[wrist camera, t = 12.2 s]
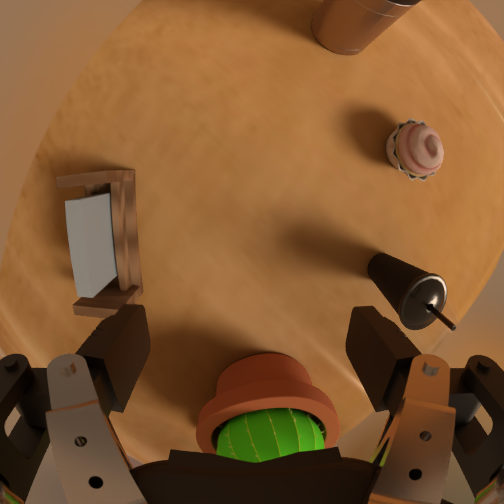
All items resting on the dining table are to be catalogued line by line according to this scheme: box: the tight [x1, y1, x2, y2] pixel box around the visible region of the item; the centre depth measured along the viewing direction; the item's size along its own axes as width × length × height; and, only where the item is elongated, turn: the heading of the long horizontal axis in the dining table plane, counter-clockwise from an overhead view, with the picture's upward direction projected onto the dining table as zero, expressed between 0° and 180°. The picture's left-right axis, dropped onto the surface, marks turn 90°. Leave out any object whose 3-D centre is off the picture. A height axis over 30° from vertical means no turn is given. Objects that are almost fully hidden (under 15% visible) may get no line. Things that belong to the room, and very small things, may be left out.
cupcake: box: [386, 118, 444, 181], centre depth 32 cm, size 9×9×10 cm
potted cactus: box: [196, 353, 340, 463], centre depth 36 cm, size 22×22×25 cm
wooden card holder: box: [56, 170, 143, 318], centre depth 35 cm, size 19×8×9 cm, turn 179°
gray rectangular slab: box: [65, 192, 118, 298], centre depth 33 cm, size 12×2×10 cm, turn 179°
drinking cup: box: [368, 253, 456, 331], centre depth 32 cm, size 8×8×20 cm
